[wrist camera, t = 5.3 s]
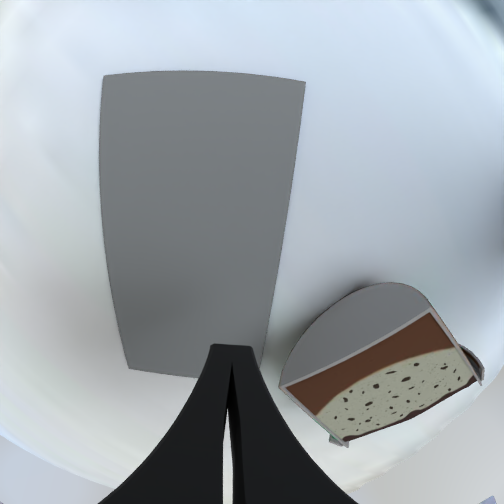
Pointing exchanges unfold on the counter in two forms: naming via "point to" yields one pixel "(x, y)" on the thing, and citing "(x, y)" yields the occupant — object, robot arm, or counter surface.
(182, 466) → the robot arm
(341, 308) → the food container
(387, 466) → the counter surface
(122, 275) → the mat
